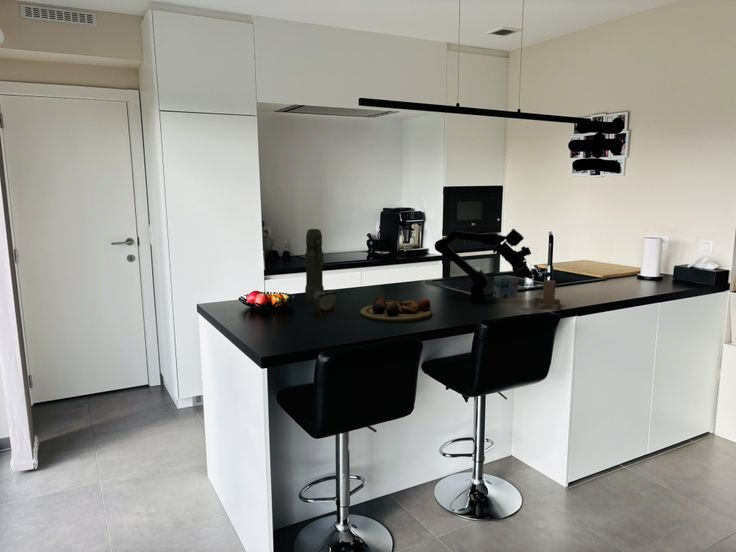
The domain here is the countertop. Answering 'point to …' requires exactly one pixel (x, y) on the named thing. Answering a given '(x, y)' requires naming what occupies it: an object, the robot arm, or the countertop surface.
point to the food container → (325, 302)
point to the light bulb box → (505, 287)
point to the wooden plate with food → (397, 311)
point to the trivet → (525, 310)
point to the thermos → (313, 264)
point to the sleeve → (540, 304)
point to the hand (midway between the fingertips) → (531, 276)
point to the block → (549, 292)
